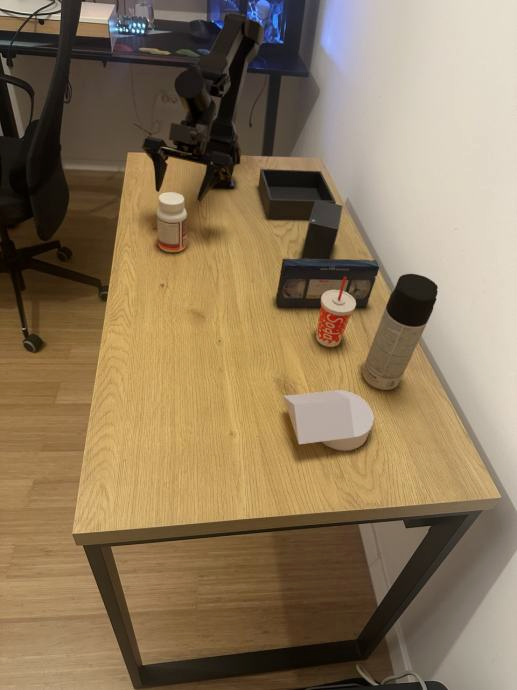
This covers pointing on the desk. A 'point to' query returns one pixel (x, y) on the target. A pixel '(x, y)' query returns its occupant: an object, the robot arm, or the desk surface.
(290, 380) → the desk surface
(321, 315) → the beverage cup
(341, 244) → the desk surface
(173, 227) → the pill bottle
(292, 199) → the bin
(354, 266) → the vhs cassette tape
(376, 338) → the spray can
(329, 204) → the small box
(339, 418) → the wedge on round base
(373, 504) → the desk surface
